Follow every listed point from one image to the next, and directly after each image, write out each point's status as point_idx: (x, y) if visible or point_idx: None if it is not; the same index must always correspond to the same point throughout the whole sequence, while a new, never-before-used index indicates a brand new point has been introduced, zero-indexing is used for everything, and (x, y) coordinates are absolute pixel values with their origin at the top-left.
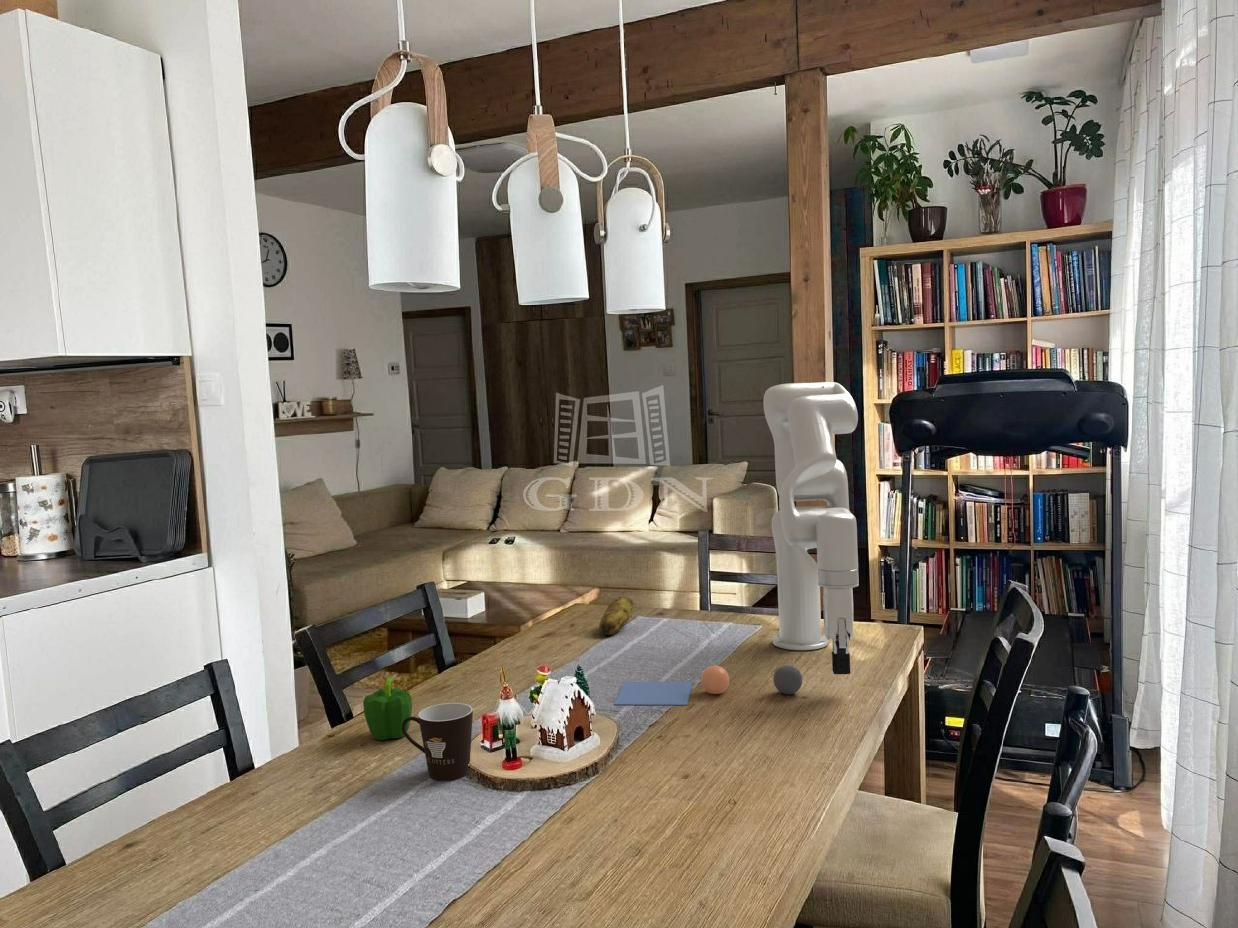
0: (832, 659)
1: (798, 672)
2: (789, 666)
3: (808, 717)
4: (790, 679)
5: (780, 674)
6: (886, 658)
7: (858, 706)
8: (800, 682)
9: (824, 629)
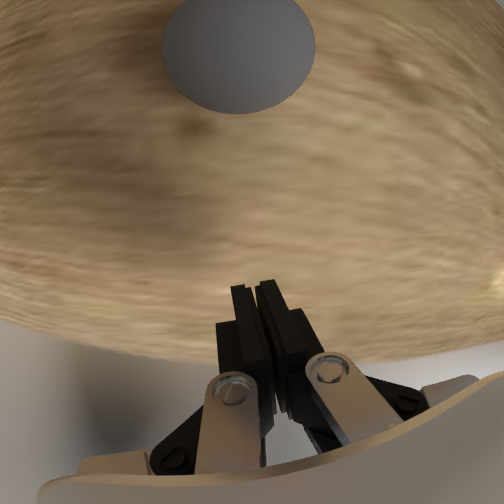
0: (256, 326)
1: (224, 89)
2: (235, 29)
3: (12, 186)
4: (164, 60)
5: (182, 5)
6: (483, 322)
7: (137, 318)
8: (204, 107)
9: (409, 479)
